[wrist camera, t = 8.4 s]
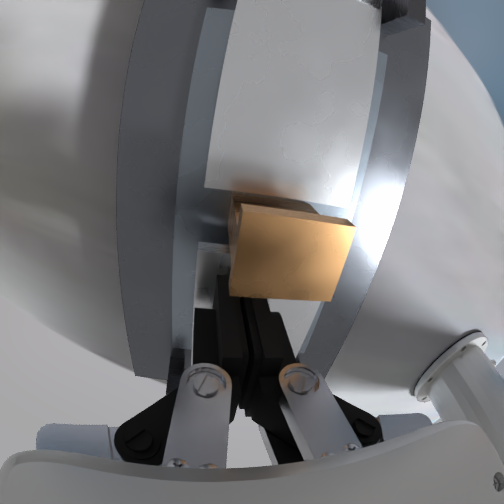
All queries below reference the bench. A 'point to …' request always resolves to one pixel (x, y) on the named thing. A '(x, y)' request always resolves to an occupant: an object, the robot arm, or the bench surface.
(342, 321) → the tray
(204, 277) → the strap
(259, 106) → the strap
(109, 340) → the bench surface
